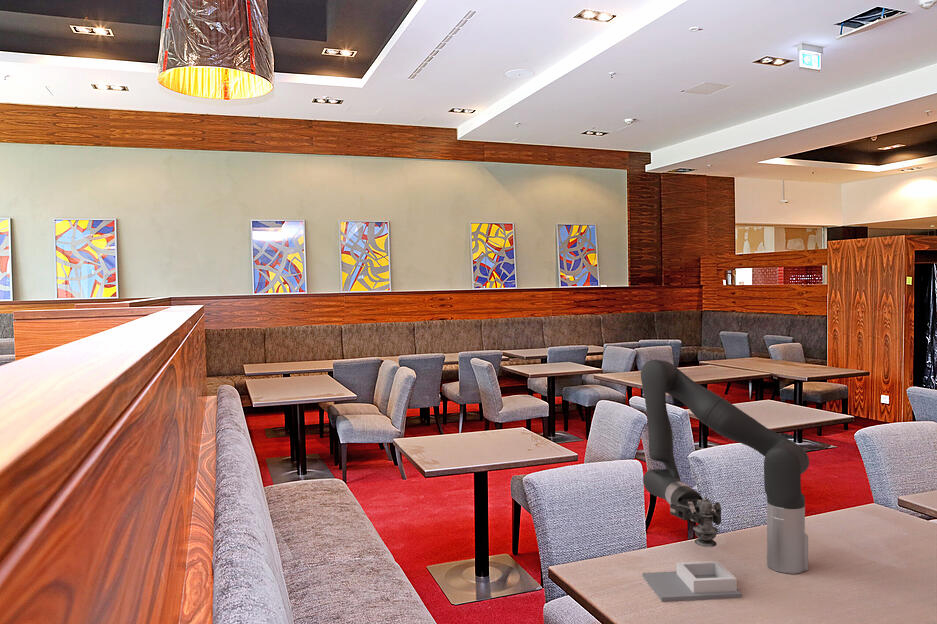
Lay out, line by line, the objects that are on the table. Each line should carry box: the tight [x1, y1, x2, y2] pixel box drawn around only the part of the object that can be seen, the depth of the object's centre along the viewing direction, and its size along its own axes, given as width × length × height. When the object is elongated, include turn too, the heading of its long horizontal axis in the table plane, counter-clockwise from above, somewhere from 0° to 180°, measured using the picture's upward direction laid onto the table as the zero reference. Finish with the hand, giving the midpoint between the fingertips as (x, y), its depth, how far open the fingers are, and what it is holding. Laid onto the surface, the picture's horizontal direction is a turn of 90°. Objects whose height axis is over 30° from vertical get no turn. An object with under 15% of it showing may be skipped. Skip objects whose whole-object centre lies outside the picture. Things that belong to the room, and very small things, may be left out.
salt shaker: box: [692, 495, 719, 548], centre depth 171 cm, size 6×6×12 cm
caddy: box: [642, 560, 743, 602], centre depth 171 cm, size 20×14×4 cm
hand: (710, 521), depth 168 cm, fingers closed on salt shaker, 3 cm apart
